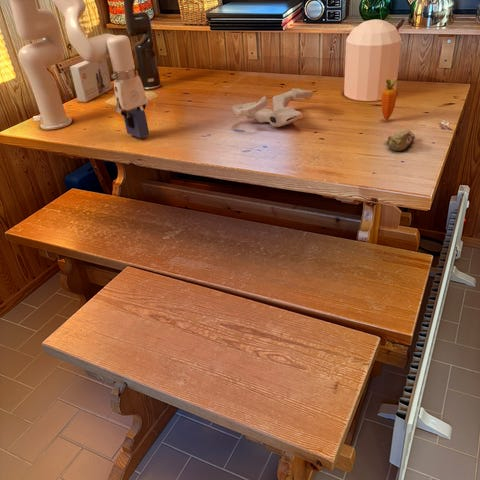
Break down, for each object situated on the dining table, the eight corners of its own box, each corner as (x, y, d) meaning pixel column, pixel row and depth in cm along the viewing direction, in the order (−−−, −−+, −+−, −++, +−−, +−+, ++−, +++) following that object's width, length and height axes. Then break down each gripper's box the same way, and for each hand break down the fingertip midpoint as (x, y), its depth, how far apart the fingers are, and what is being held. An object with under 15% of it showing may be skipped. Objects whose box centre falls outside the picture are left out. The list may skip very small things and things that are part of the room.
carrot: (394, 118, 167) (398, 76, 158) (393, 123, 163) (397, 80, 154) (379, 117, 168) (383, 75, 160) (378, 122, 165) (382, 80, 156)
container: (365, 104, 181) (370, 27, 165) (333, 91, 197) (335, 20, 181) (407, 93, 187) (416, 18, 171) (373, 81, 203) (378, 12, 188)
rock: (408, 140, 153) (379, 139, 152) (414, 122, 149) (384, 120, 148) (421, 154, 144) (391, 153, 143) (428, 135, 140) (396, 133, 139)
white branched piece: (230, 133, 167) (227, 101, 161) (244, 110, 188) (241, 81, 182) (308, 133, 161) (308, 99, 155) (313, 109, 182) (314, 78, 176)
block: (140, 138, 168) (135, 114, 163) (127, 133, 174) (121, 110, 169) (149, 134, 171) (144, 111, 165) (136, 129, 176) (131, 106, 171)
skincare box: (87, 102, 214) (77, 67, 204) (78, 102, 215) (68, 66, 206) (113, 88, 229) (105, 54, 220) (104, 88, 231) (96, 54, 222)
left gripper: (110, 82, 153) (122, 134, 163) (151, 69, 162) (160, 120, 172) (98, 79, 158) (111, 130, 168) (139, 67, 167) (149, 116, 177)
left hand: (136, 124), depth 170 cm, fingers closed on block, 4 cm apart
